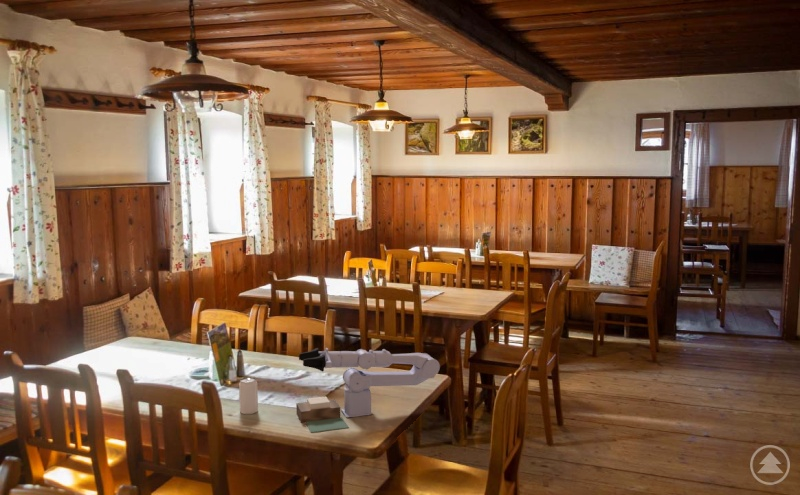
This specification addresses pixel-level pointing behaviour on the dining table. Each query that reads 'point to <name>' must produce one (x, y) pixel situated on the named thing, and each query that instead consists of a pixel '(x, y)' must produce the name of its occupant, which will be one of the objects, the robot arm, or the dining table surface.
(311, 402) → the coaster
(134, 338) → the dining table surface
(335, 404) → the riser
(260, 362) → the dining table surface
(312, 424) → the mat
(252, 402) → the can
